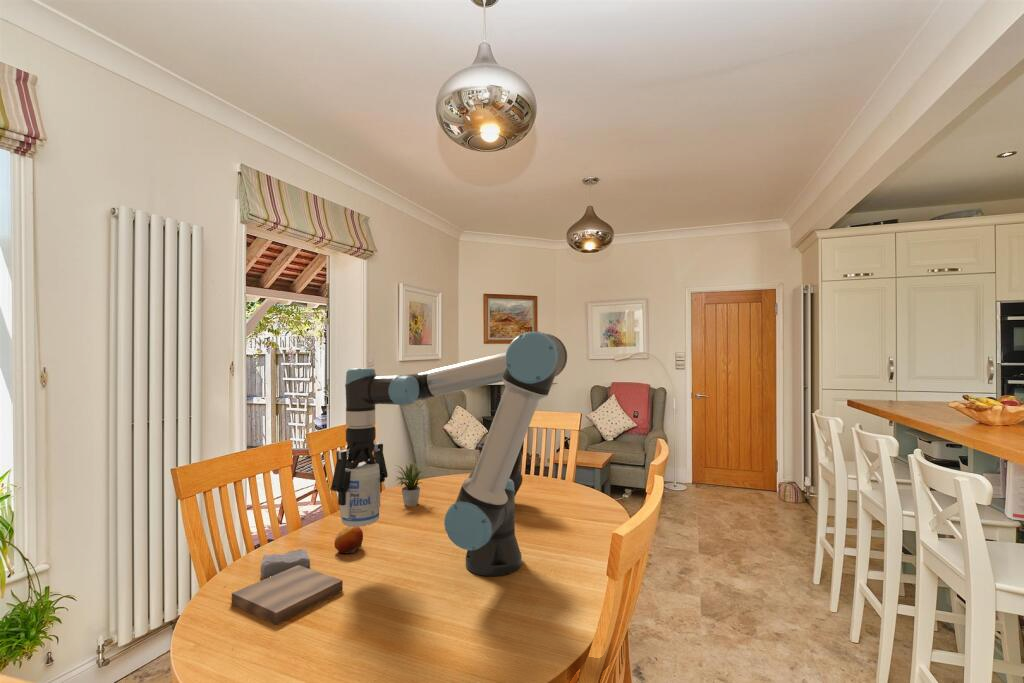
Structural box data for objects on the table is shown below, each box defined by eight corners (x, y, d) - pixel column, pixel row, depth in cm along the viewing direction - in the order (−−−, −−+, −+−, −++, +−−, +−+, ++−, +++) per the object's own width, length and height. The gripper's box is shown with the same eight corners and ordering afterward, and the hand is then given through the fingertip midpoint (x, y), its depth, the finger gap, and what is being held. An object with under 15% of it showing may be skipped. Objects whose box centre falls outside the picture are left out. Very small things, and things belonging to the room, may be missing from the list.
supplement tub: (342, 530, 120) (342, 471, 120) (340, 518, 128) (340, 463, 129) (382, 524, 123) (382, 467, 124) (377, 513, 132) (377, 460, 133)
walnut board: (342, 590, 115) (342, 580, 115) (276, 624, 100) (276, 612, 101) (298, 574, 124) (298, 565, 124) (231, 604, 109) (231, 593, 109)
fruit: (360, 552, 134) (347, 526, 135) (338, 565, 136) (325, 539, 137) (374, 541, 142) (361, 517, 143) (353, 553, 144) (341, 529, 145)
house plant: (389, 500, 188) (389, 458, 189) (424, 496, 193) (424, 456, 193) (391, 511, 175) (391, 466, 175) (429, 507, 179) (429, 463, 180)
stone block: (259, 573, 130) (260, 580, 121) (260, 554, 131) (261, 559, 122) (307, 565, 135) (310, 571, 126) (307, 547, 136) (311, 552, 128)
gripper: (382, 420, 138) (382, 498, 137) (315, 431, 119) (315, 521, 118) (401, 422, 134) (401, 502, 134) (335, 433, 115) (335, 527, 114)
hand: (360, 511), depth 126 cm, fingers closed on supplement tub, 10 cm apart
